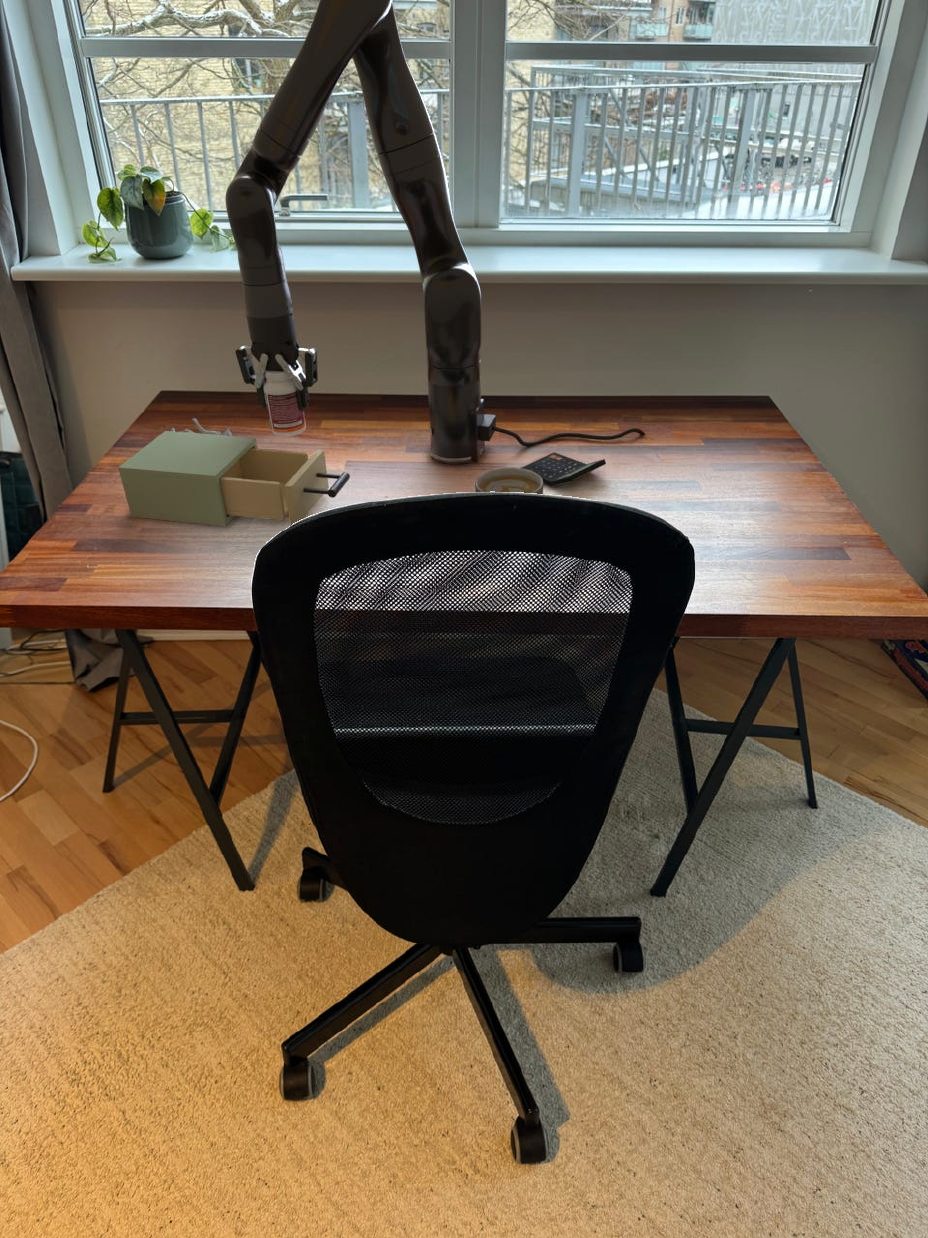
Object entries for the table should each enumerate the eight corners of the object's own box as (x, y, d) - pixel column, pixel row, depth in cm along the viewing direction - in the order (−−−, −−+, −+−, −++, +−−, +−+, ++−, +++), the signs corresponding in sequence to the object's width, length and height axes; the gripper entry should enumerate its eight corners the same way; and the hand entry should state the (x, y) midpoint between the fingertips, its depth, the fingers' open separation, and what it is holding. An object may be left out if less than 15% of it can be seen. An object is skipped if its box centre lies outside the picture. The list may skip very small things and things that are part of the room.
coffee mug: (547, 555, 131) (549, 494, 125) (481, 561, 130) (480, 500, 124) (530, 513, 142) (531, 455, 136) (468, 518, 141) (467, 460, 135)
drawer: (359, 490, 148) (355, 452, 144) (330, 529, 137) (325, 489, 133) (243, 480, 152) (237, 442, 148) (206, 517, 141) (198, 477, 138)
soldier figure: (192, 439, 172) (243, 424, 168) (192, 462, 171) (243, 448, 167) (164, 423, 165) (217, 407, 161) (164, 447, 164) (217, 432, 160)
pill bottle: (313, 429, 155) (304, 367, 149) (284, 440, 152) (273, 377, 145) (293, 420, 159) (283, 360, 153) (264, 431, 155) (253, 369, 149)
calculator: (553, 456, 159) (554, 441, 157) (605, 475, 152) (606, 459, 150) (518, 473, 154) (518, 457, 152) (570, 493, 147) (571, 477, 145)
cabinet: (264, 485, 153) (255, 437, 148) (225, 526, 141) (215, 475, 136) (176, 477, 156) (165, 430, 151) (131, 516, 144) (117, 467, 139)
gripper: (218, 314, 142) (237, 414, 152) (301, 317, 139) (316, 418, 148) (238, 301, 148) (256, 398, 158) (319, 303, 145) (332, 402, 154)
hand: (285, 407), depth 153 cm, fingers closed on pill bottle, 6 cm apart
